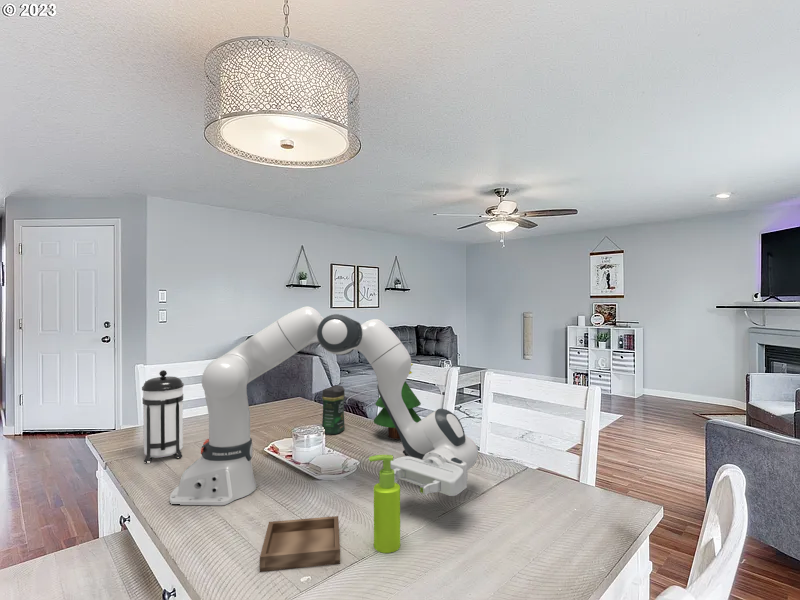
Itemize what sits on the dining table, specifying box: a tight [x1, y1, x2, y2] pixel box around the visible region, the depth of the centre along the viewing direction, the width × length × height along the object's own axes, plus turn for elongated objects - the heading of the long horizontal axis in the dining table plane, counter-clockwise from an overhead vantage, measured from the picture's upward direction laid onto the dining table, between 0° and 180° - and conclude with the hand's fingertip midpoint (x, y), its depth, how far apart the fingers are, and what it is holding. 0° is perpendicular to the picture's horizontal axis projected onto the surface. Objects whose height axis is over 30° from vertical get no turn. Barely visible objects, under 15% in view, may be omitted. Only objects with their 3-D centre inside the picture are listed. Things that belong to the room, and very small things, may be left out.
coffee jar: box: [321, 385, 346, 436], centre depth 179 cm, size 10×8×19 cm
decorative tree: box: [373, 363, 422, 440], centre depth 174 cm, size 19×19×30 cm
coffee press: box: [141, 369, 185, 464], centre depth 151 cm, size 17×16×30 cm
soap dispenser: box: [368, 454, 401, 554], centre depth 97 cm, size 6×7×20 cm
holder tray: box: [259, 515, 341, 573], centre depth 96 cm, size 16×14×3 cm
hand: (406, 485), depth 103 cm, fingers open, 8 cm apart
